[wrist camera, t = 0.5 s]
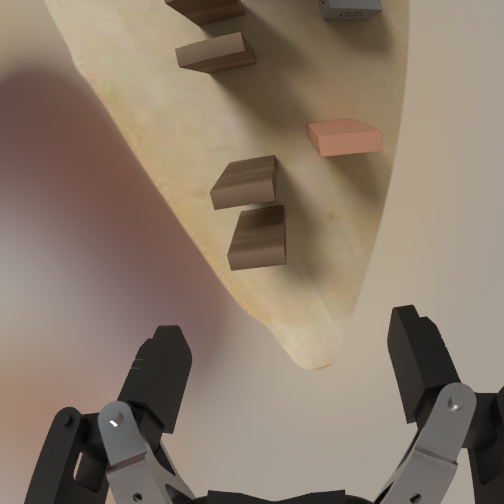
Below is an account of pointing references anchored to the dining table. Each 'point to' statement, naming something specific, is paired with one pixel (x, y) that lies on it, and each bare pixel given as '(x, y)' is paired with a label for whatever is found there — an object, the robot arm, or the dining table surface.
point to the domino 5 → (344, 137)
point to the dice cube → (349, 9)
